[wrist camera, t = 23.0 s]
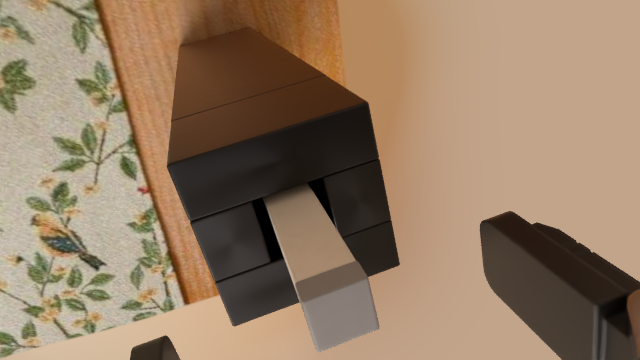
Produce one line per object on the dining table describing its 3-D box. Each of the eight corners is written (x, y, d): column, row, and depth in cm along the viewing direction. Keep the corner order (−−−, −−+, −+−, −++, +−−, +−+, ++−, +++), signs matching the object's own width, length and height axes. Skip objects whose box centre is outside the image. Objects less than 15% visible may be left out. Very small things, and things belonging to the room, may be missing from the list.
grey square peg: (259, 190, 20) (317, 354, 11) (248, 156, 19) (300, 302, 10) (295, 178, 20) (381, 329, 11) (285, 144, 20) (368, 277, 11)
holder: (203, 115, 43) (233, 327, 16) (178, 46, 40) (165, 165, 14) (269, 95, 44) (400, 265, 17) (250, 26, 41) (368, 101, 14)
